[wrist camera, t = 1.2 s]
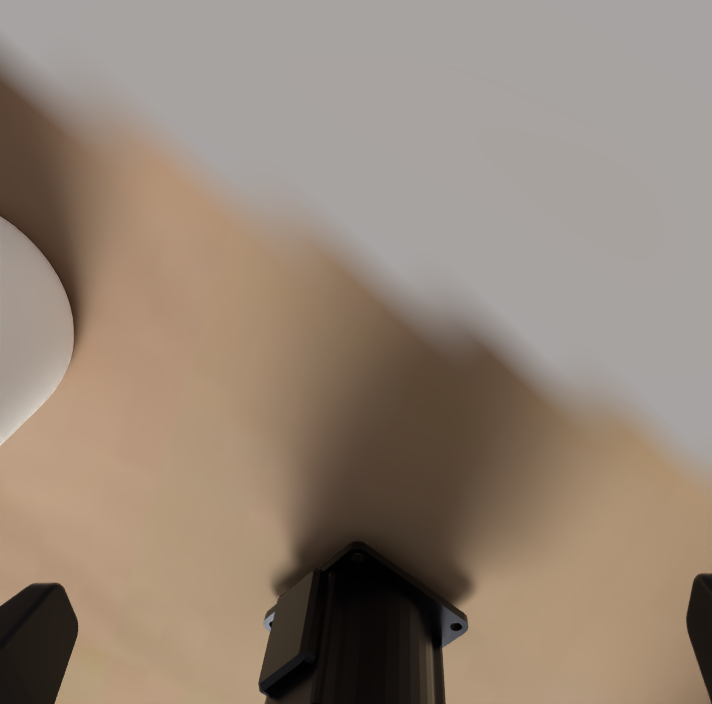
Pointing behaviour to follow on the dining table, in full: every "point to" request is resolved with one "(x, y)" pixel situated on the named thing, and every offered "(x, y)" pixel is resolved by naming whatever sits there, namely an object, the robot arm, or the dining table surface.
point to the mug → (29, 329)
